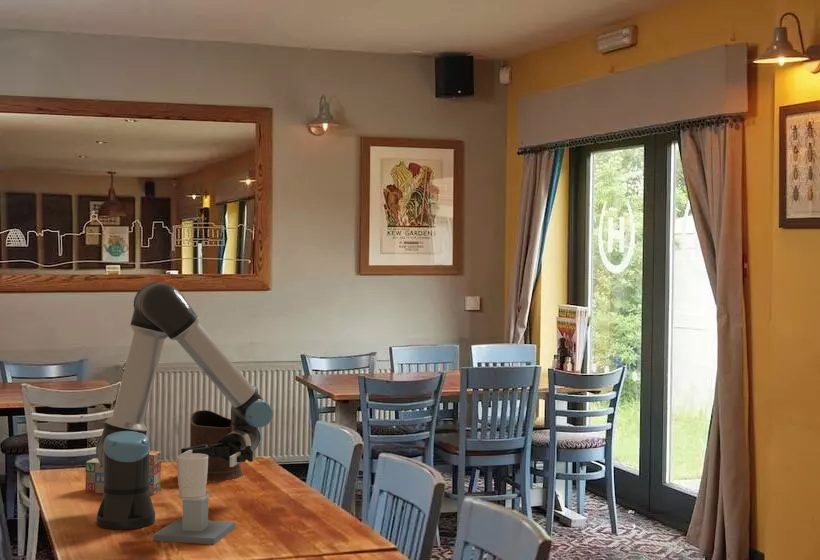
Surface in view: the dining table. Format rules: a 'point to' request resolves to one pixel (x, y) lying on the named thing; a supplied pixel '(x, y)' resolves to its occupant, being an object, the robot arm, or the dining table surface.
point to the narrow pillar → (194, 524)
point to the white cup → (192, 474)
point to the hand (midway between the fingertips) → (206, 460)
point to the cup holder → (213, 442)
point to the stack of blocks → (97, 474)
